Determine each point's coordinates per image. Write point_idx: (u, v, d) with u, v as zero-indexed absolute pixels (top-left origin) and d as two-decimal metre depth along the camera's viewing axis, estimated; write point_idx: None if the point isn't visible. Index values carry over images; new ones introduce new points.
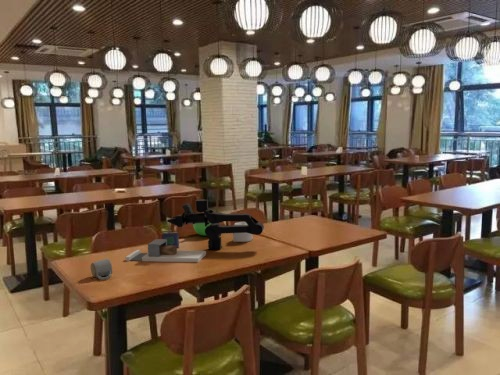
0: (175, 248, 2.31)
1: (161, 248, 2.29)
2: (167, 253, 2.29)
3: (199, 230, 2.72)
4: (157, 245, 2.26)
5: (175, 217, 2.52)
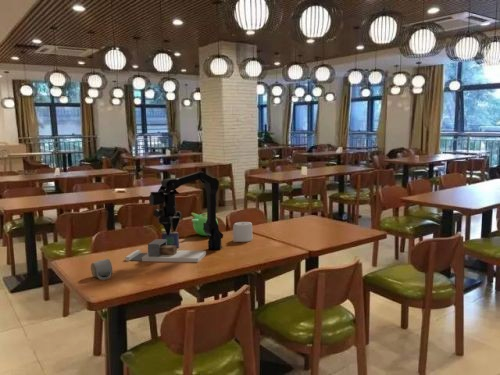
0: (175, 248, 2.31)
1: (161, 248, 2.29)
2: (167, 253, 2.29)
3: (199, 230, 2.72)
4: (157, 245, 2.26)
5: (173, 228, 2.34)
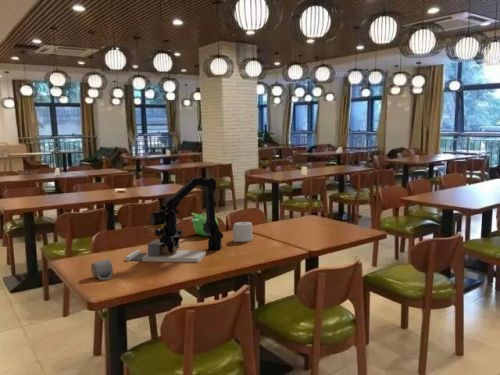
0: (175, 248, 2.31)
1: (161, 248, 2.29)
2: (167, 253, 2.29)
3: (199, 230, 2.72)
4: (157, 245, 2.26)
5: None
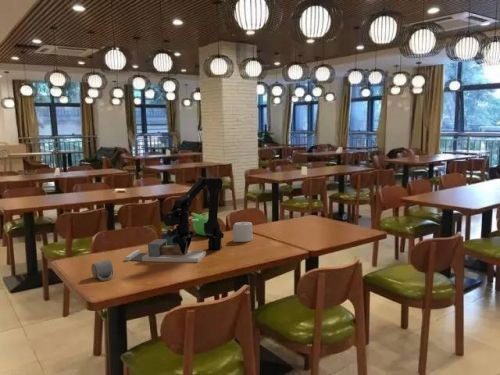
0: (186, 248, 2.30)
1: (172, 248, 2.28)
2: (178, 253, 2.28)
3: (199, 230, 2.72)
4: (157, 245, 2.26)
5: None
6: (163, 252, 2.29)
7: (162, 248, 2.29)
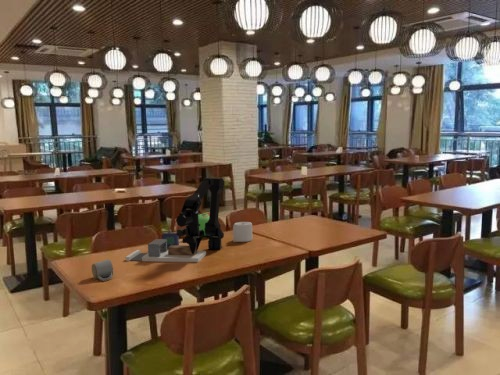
0: None
1: (181, 248, 2.27)
2: (188, 253, 2.27)
3: None
4: (157, 245, 2.26)
5: None
6: (172, 252, 2.28)
7: (171, 248, 2.28)
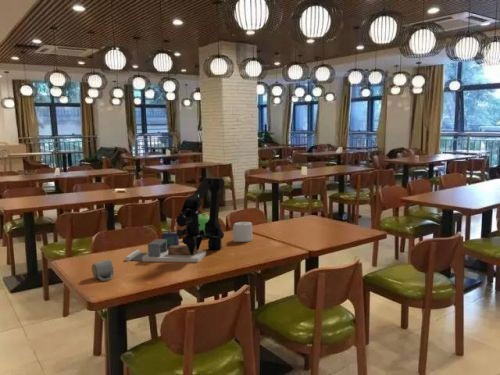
0: (195, 248, 2.29)
1: (181, 248, 2.27)
2: (188, 253, 2.27)
3: None
4: (157, 245, 2.26)
5: None
6: (172, 252, 2.28)
7: (171, 248, 2.28)
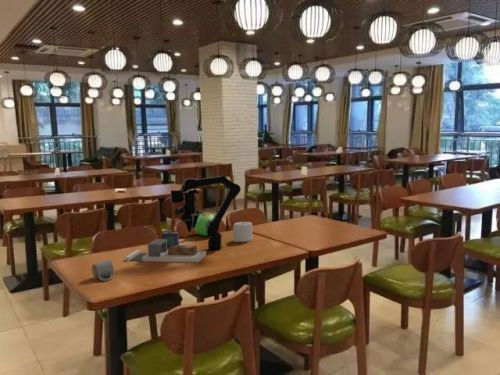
0: (195, 248, 2.29)
1: (181, 248, 2.27)
2: (188, 253, 2.27)
3: (199, 230, 2.72)
4: (157, 245, 2.26)
5: (193, 225, 2.46)
6: (172, 252, 2.28)
7: (171, 248, 2.28)
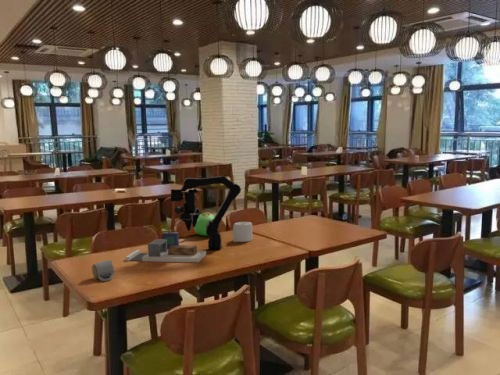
0: (195, 248, 2.29)
1: (181, 248, 2.27)
2: (188, 253, 2.27)
3: (199, 230, 2.72)
4: (157, 245, 2.26)
5: (193, 224, 2.47)
6: (172, 252, 2.28)
7: (171, 248, 2.28)
